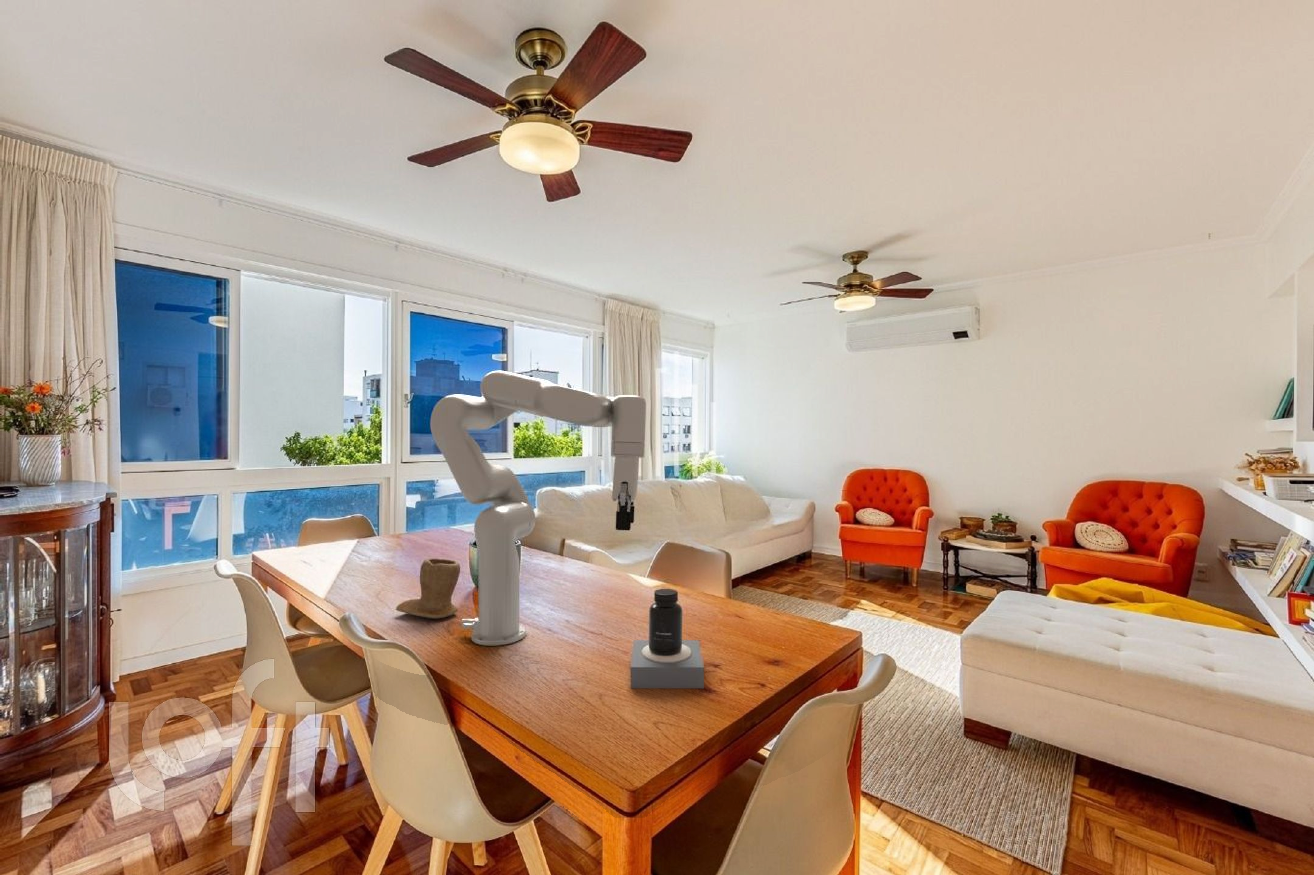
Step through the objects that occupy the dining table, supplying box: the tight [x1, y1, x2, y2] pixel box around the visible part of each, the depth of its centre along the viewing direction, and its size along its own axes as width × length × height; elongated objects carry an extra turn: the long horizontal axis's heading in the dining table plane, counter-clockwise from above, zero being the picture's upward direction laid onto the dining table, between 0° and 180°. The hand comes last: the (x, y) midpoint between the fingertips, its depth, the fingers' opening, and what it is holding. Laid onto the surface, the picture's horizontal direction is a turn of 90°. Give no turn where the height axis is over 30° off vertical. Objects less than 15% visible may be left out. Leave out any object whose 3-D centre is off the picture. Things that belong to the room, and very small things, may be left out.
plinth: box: [630, 639, 705, 689], centre depth 111 cm, size 14×14×4 cm
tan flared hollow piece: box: [395, 557, 461, 619], centre depth 148 cm, size 15×12×15 cm
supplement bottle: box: [648, 588, 683, 656], centre depth 111 cm, size 7×7×12 cm
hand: (625, 526), depth 123 cm, fingers open, 9 cm apart
